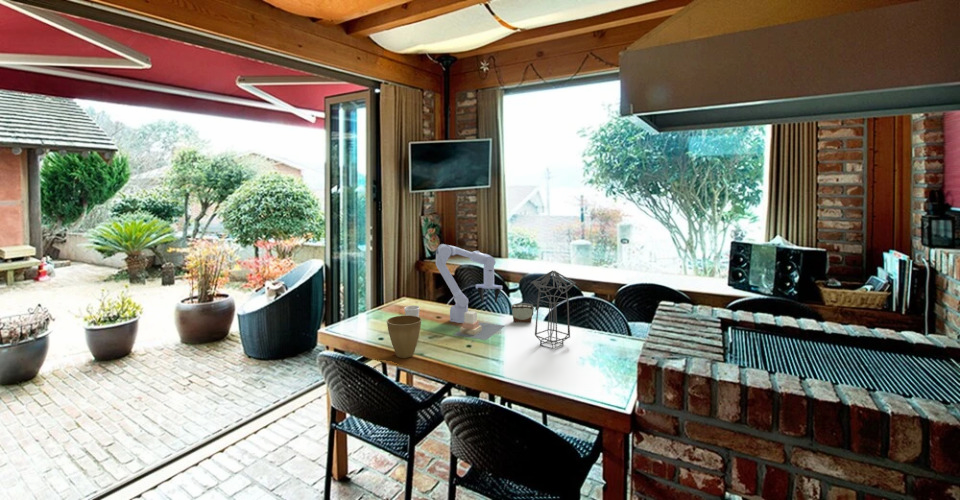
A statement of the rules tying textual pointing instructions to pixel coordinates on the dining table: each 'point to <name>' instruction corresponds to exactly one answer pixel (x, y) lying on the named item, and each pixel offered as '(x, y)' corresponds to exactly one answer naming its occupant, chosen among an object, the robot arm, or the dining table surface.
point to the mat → (483, 331)
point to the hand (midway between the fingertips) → (489, 301)
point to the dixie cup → (412, 310)
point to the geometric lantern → (551, 304)
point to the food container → (522, 312)
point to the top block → (470, 317)
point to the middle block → (471, 325)
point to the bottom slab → (471, 330)
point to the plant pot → (404, 334)
